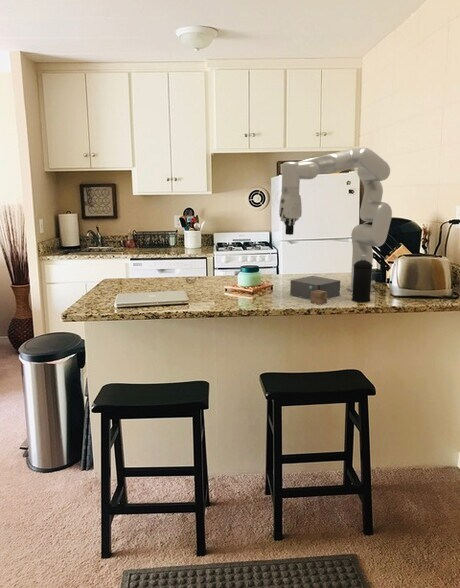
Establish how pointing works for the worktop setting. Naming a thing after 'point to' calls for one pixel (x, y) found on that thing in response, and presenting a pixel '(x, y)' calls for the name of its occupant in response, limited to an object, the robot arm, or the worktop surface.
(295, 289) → the grey drawer
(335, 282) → the grey drawer box
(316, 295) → the walnut block
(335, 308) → the worktop surface
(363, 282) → the aerosol can
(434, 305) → the worktop surface
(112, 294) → the worktop surface
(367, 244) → the robot arm
